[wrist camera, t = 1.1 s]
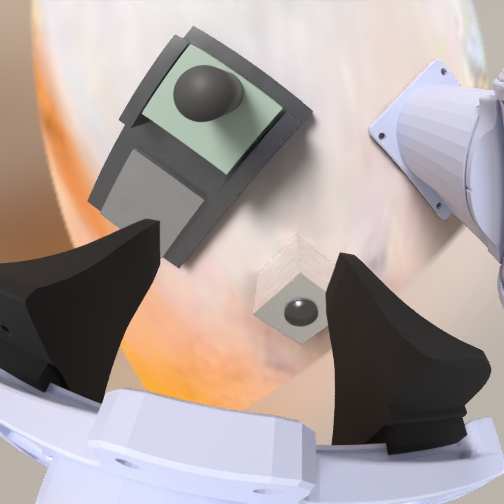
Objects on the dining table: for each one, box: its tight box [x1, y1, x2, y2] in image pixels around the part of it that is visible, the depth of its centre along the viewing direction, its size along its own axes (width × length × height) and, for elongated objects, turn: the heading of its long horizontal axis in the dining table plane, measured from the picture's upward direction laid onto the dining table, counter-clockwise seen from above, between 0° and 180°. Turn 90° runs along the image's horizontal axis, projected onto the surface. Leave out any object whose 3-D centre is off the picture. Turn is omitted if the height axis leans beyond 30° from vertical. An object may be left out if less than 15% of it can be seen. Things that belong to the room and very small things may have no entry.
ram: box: [142, 44, 282, 175], centre depth 13 cm, size 6×5×6 cm
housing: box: [253, 234, 335, 344], centre depth 21 cm, size 4×4×5 cm
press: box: [88, 26, 313, 268], centre depth 18 cm, size 9×15×3 cm, turn 141°
